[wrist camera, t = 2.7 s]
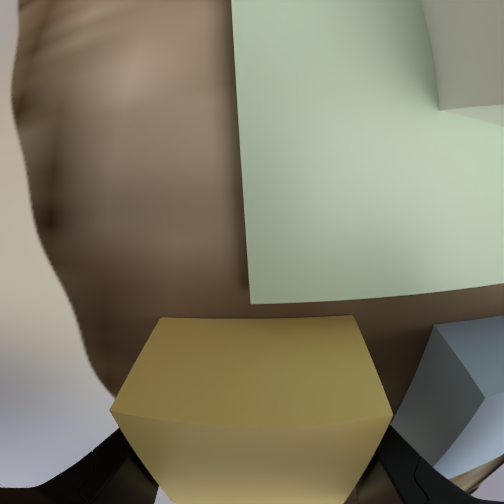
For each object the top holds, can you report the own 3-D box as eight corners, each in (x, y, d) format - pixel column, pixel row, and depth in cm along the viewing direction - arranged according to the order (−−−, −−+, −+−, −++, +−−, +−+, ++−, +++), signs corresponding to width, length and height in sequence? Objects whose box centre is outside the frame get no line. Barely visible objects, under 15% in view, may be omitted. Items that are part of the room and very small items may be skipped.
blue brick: (478, 402, 10) (506, 452, 7) (388, 424, 11) (408, 492, 7) (524, 308, 8) (573, 356, 5) (431, 321, 9) (485, 397, 5)
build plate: (572, 261, 7) (582, 267, 6) (252, 289, 8) (250, 304, 8) (540, -27, 2) (547, -30, 1) (227, -122, 3) (224, -133, 2)
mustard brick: (330, 428, 11) (341, 506, 7) (192, 427, 11) (173, 502, 7) (352, 314, 8) (393, 415, 5) (160, 317, 9) (109, 410, 5)
